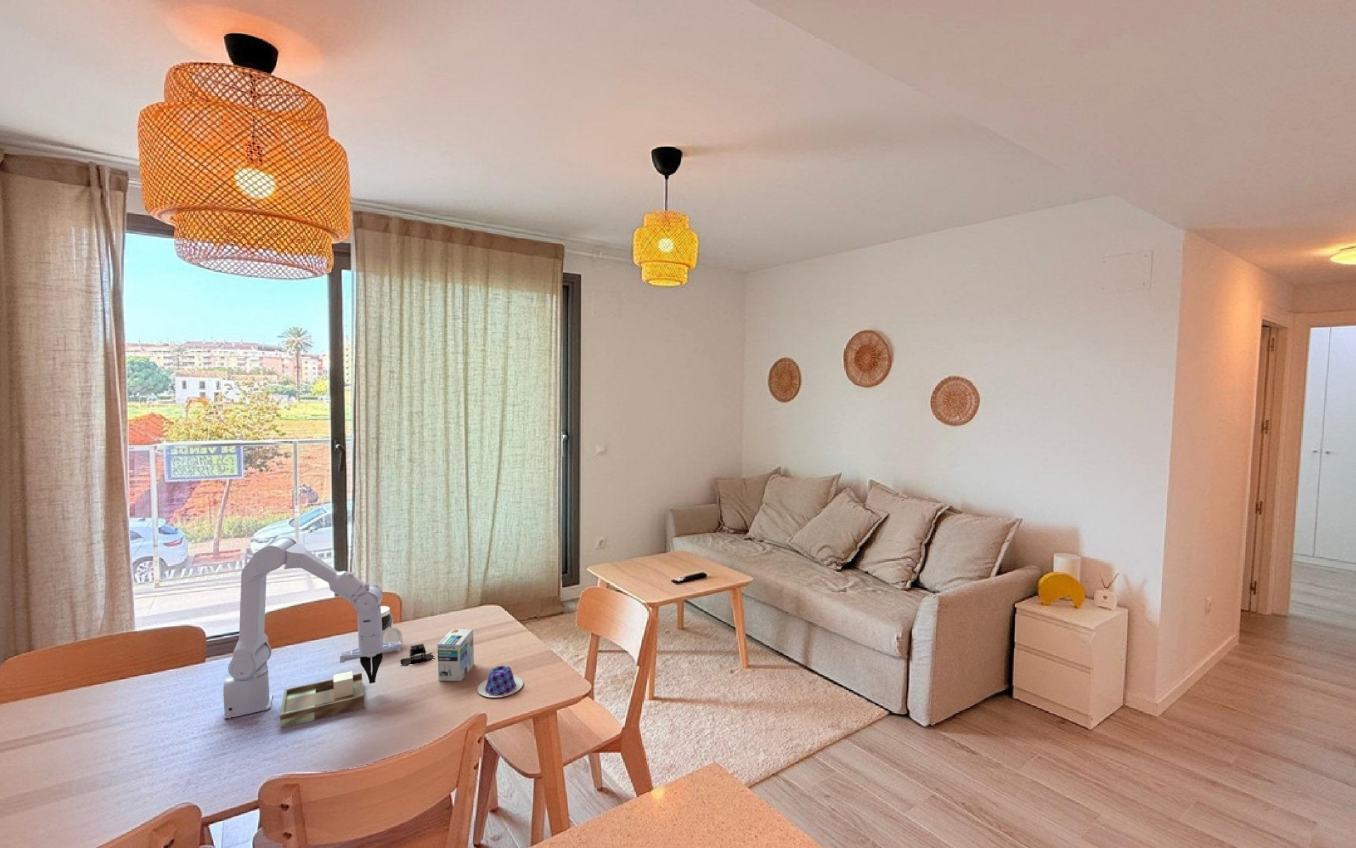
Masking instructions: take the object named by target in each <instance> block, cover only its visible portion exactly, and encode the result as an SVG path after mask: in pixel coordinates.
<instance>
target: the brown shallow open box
mask: <svg viewBox="0 0 1356 848" xmlns="http://www.w3.org/2000/svg"><path fill="white" fill-rule="evenodd" d="M361 709H365V694H364V685H363V673H362V672H360V673H354V674H353V695H348V696H344V697H339V698H335V699H334V683H333V678H332V679H327V680H323V681H322V680H321V681H318V682H313V683H310V684H309V683H307V684H303V685H300V686H293V687H290V688H285V689H284V690H283V697H282V702H281V709H280V715H279V718H280V719H279V720H280V729H284V728H288V727H292V726H295V725H299V724H304V723H308V722H312V721H315V720H321V719H323V718H328V717H332V716H337V715H341V714H345V713H349V712H353V711H357V710H361Z"/></svg>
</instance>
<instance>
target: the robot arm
mask: <svg viewBox="0 0 1356 848" xmlns="http://www.w3.org/2000/svg"><path fill="white" fill-rule="evenodd" d="M283 565H284V568H283V569H284V570H288V569H289V570H290V569H297V568H299V569H302V570H304V571H306V572H307V573H309V574H312V575H314V576H315V577H317V578H319V579H321V580H322V581H324V582H326V583H328V586H329V587H328V588H329V590H330V591H331V592H333V593H335V594H336V595H338V596H340V597H341V598H342V599H344V600H346V601H347V602H349V603H351V604H353V606H352V607H353V608H354V610H355V611H356V612H357V638H358V647H356V648H354V649H351V650H348V651H345V652H339V663H340V664H344V663H345V662H347V661H354V660H357V659H359V662H360V663H359V664H360V665H361V666H362V668H363V669H364V671H365V673H366V675H367V677H368V683H369V684H375V683H376V679H377V674H378V671H379V668H380V666H381V663H382V662H383V658H384V657H383V654H387V653H392V652H401V651H402V644H401V643H400V641H399V642H391V643H383V641H382V615H381V602H382V600H383V597H384V592H383V590H382V589H381V587H379V586H378V585H377V584H370V583H369V582H367V583H366V582H364V581H362V579H359V578H358V577H356V576H355V574H356V573H354V572H353V571H350V572H349V571H347V570H342V571H338V570H336V569H335V568H334V567H332V566H331V565H329V564H328V563H327V562H325V561H324V560H322V559H321V558H319V557H318V556H317V555H316V554H314V553H312V552H311V551H310V550H308V549H307V547H306V546H305V545H304V544H302V543H300V542H297V541H296V540H295V539H293V538H291V537H290V536H281V537H278V538H276V539H275V540H273V541H271V542H270V543H269V544H267V545H266V546H264V547H261V549H260V548H259V550H257V551H255V552H254V553H253V554H252V557H251V558H250V559H249V560H248V562H247V563H246V565H245V566H244V567H243V568H242V569H241V573H240V574H241V576H240V601H239V602H240V603H239V605H240V607H239V632H238V633H239V634H238V635H239V636H238V641H237V643H236V645H235V647H234V650H233V652H232V659H231V660H230V662H229V664H228V669H227V670H228V673H229V675H230V676H228V677H226V678H224V681H223V694H222V695H223V710H224V718H225V719H224V720H227V719H226V718H228V719H232V718H231V717H233V718H237V717H240V716H244V715H250V714H254V713H258V712H263V711H266V710H268V711H269V710H270V709H271V706H272V703H273V702H272V701H273V695H274V694H273V693H270V681H269V678H270V677H269V666H268V660H269V659H270V658H271V656H272V647H271V646H270V644H269V636H268V635H267V634H265V624H266V623H265V622H266V619H265V618H266V600H267V599H266V594H267V575H268V574H270V572H272V571H275V570H277V569H280V568H281V567H282V566H283Z"/></svg>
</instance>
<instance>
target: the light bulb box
mask: <svg viewBox="0 0 1356 848" xmlns="http://www.w3.org/2000/svg"><path fill="white" fill-rule="evenodd" d="M474 642H475V641H474V629H462V628H461V629H459V628H451V630H449V632H447V634H446V635H445V636H444V637H443V638H442V639H441V640H440V641H439V642H438V643H437V666H438V667H437V671H438V672H437V673H438V674H437V676H438V681H440V682H441V681H443V682H445V681H446V682H450V681H451V682H461V681H462V680H463V679H464V678H465V676H467V674H468V673H469V671H470V670H471V669H472V668H473V667H474V665H475V655H474V653H475V652H474V650H475V649H474V647H475V646H474Z"/></svg>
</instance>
